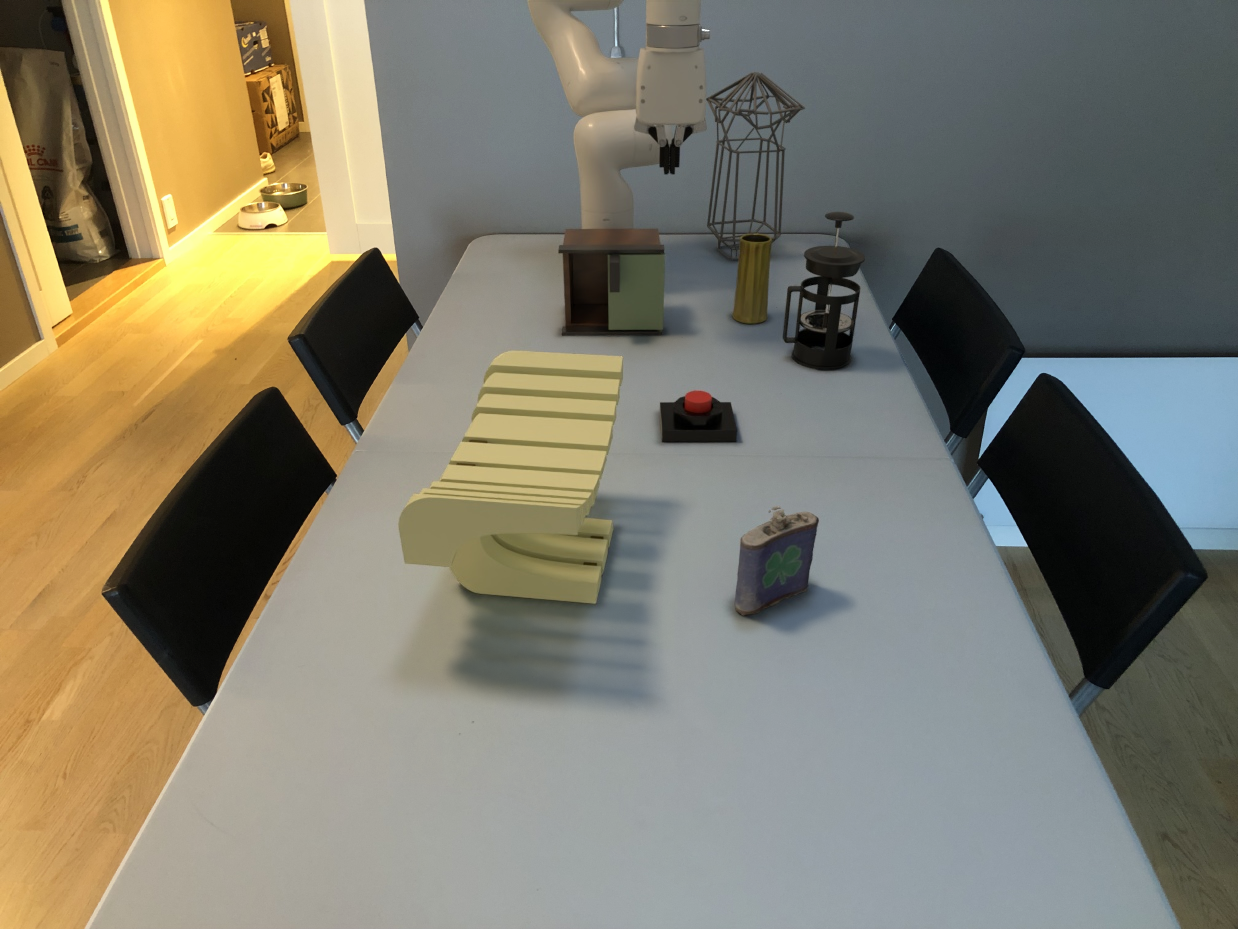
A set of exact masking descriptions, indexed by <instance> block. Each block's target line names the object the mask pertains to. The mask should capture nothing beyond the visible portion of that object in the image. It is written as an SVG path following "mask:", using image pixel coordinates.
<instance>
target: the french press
mask: <svg viewBox="0 0 1238 929" xmlns="http://www.w3.org/2000/svg"><path fill="white" fill-rule="evenodd" d="M824 217H825V218H826V219H827V220H830V221H835V222H834V224H835V225H834V228H835V229H836V231H835V239H834V245H819V246H818V245H817V246H813V247H809V248H807V249H806V250H805V251H804V252H803V257H804V259H806V261H805V269H806V271H807V272H809V273H810V274H813V275H815V276H812V277H808V278H805V279H803V280H802V281H801V282H800V285H789V286H788V287H787V290H786V299H785V309H784V319H783V329H782V340H783V342H784V343H785V344H793V349H792V350H791V358H792V360H793V361H794V362H795V363H796V364H798V365H800V366H802V367H805V368H809V369H812V370H817V371H836V370H840V369H844V368H847V367H848V366H849V365H850V364H851V363H852V359H853V357H852V348H853V342H854V336H855V328H856V322H857V316H858V308H859V302H860V296H861V295H860V294H861V289H862V288H861V285H860V284H858V283H857V282H855V281H853V280H852V279H848V278H851V277H854V276H856V275H857V274H858V272H859V270H860V269H861V265H862V264H863V263H864V262H865V260H866V255H865V254H864V253H863V252H861V251H860V250H857V249H855V248H852V247H847V246H841V245H838V241H839V232H840V229H842V226H843V225H842V224H843V222H849V221H852V220H854V219H855V216H854V215H853V214H851V213H849V212H844V211H830V212H827V213H826V214H825V215H824ZM813 286H817V288H816V293H814V292H811V291H809V290H807V289H806V288H808V287H813ZM832 286H838V287H843V288H845V289H846V288H847V289H849V290H851V291H853V292H854V293H852V294H846V295H840V296H839V295H835V296H834V295H833V296H832ZM793 292H794V293H799V295H798V303H797V304H798V306H797V314H796V324H795V332H794V336H788V328H789V322H790V321H789V319H790V312H791V300H792V293H793ZM804 299H805V300H807V301H808V302H812V303H815V304H814V305H815V306H814V310H809V311H806V312H803V300H804ZM848 304H849V305H850V304H853V306H852V313H851V317H850V316H849V315H847V314H845V313H843V312H842V306H845V305H848ZM802 312H803V313H802ZM801 327H802V328H803V329H801ZM848 331H849V334H848V333H847V332H848ZM821 348H823V349H821Z"/></svg>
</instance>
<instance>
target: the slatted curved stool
mask: <svg viewBox="0 0 1238 929" xmlns="http://www.w3.org/2000/svg"><path fill="white" fill-rule="evenodd" d="M623 380H624V356H622V355H607V354H605V355H604V354H587V353H586V354H585V353H569V352H568V353H567V352H553V351H552V352H549V351H531V350H530V351H529V350H508V351H505V352H502V353H500V354H498V355H497V356H495V358H494V359H492V361H491V363H490V365H489V366H488V368H487V369H486V371H485V372H484V376H483V385H482V386H481V388H480V390H479V393H478V394H477V395H478V396H477V404H476V406H475V407H474V409H473V412H472V413H471V423H470V424H469V427H468V428H467V430H466V432H465V434H464V435H463V438H462V439H461V441H460V442H459V444H458V446H457V448H456V450H455V451H454V453H453V455H452V456H451V458H450V460H449V462H448V464H447V465H446V468H445V469H444V471H443V472H442V474H441V476H440V477H439V480H438V481H437V480H432V482H431V483H430V485H429V487H428V488H427V487H425V488H424V487H423V488H422V489H421V490H420V492H419V493H415V492H414V493H413V494H412V495H411V496H410V498H409V500H408V501H407V503H406V504H405V506H404V508H403V509H402V511H401V513H400V515H399V517H398V533H399V539H400V545H401V550H402V556H403V562H404V564H407V565H417V566H418V565H419V566H429V567H430V566H432V567H442V568H449V570H450V572H451V573H452V575H453V576H454V578H455V579H456V581H457V582H459V584H461V586H462V587H464V588H465V589H466V590H468V591H470V592H472V593H475V594H479V595H480V594H481V595H491V596H502V597H504V596H505V597H514V598H527V599H537V600H547V601H548V600H549V601H560V602H569V603H570V602H571V603H572V602H573V603H583V604H593V605H596V604H597V601H598V597H599V592H600V588H601V584H602V575H604V571H605V566H606V563H607V558H608V554H609V549H610V545H611V541H612V536H613V533H614V523H613V520H612V519H601V518H591V517H586V516H589V515H590V511H591V508H592V507H594V506H595V503H596V499H597V496H598V492H599V488H600V485H601V484H600V480H602V477H603V474H604V470H605V467H606V463H607V456H609V453H610V448H611V445H612V441H613V438H614V426H615V423H616V420H617V406H618V405H619V401H620V398H621V395H620V394H621V391H620V390H621V389H620V388H621V386H622V384H623Z"/></svg>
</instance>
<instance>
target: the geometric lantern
mask: <svg viewBox="0 0 1238 929" xmlns="http://www.w3.org/2000/svg"><path fill="white" fill-rule="evenodd" d="M757 86H758V88H759V91H760V93H761V95H757V93H758V92H757V90H758V89H757ZM731 89H732V90H731ZM747 89H748V90H747ZM729 90H731V91H730V92H729V93H728V94H727V95H725V97H718V96H720V95H723V93H726V92H728V91H729ZM740 90H741V91H740ZM746 90H747V91H746ZM767 90H768V91H769V92H768V91H767ZM745 91H746V94H745ZM738 93H739V94H738ZM749 93H750V95H749ZM769 93H771V95H770V94H769ZM737 94H738V95H737ZM743 94H745V95H744V97H743V98H742V96H743ZM736 95H737V97H736V98H734V97H735V96H736ZM748 95H749V98H747V97H748ZM770 98H774V99H775V103H776V106H777V109H778V110H773V111H772V109H771V106H770V104H769V101H768V99H770ZM757 100H761V101H760V102H758V103H757ZM706 102H707V104H708V106H709V108H710V110H711V112H712V114H713V116H714V123H716V139H717V140H716V141H715V143H716V145H715V154H714V161H713V162H714V163H713V171H712V179H711V189H710V196H709V197H710V198H709V204H708V206H709V207H708V214H707V222H706V223H707V224H706V227H707V228H708V229H709V231H710V232H711V233H712V234H713V236H714V237H715V238H716V240H717V248H716V250H717V251H718V252H719V253H721V255H723V256H724V257H726V258H727V259H728V260H729V261H739V257H738V253H739V252H738V251H739V250H740V237H741V236H742V235H743V234H740V235H736V226H737V224H741V223H750V225H749V230H748V233H747V234H750V233H751V232H752V226H753V223H758V224H761V225H759V227H758V228H757V229H756V230H755V232H754V233H759V231H760V230H761V229H762V228H763V226H765V227H767V228H768V229H770V231H772V232H773V237H771V236H770V237H771V239H772V244H773V243H774V242H775V241H776V240H778V239H779V238H780V237H781V235H782V220H783V218H782V216H783V196H784V177H785V176H784V174H785V155H786V154H785V153H786V150H787V148H786V147H785V146H783V141H784V140H783V139H784V131H785V124H788V123H791V121H792V119H793V118H794V117H795V116H796V115H797V114H798V113H799V112H800V111H803V110H805V109H806V107H805V106H803V104H802V103H800V102H799V101H798V100H796V99H795V98H794V97H793V96H791V95H790V94H789V93H787V92H786V91H785V90H784V89H783V88H782V87H780V86H779V85H778V84H776V83H775V82H774V81H773V80H771V79H770V78H769V77H768V76H766V75H765V74H764V73H763V72H758V71H751V72H750V73H748V74H746V75H745V76H743V77H741V78H739V79H738V80H735V81H734V82H732V83H731V84H729V85H727V86H725V87H724V88H722V89H720V90H718V91H717V92H715V93H713V94H711V95H710V96H707V97H706ZM747 102H748V103H749V104H748V108H742V106H743V105H744V103H747ZM728 103H731V105H730V107H728V106H727V105H728ZM739 103H740V105H739ZM752 103H753V109H751V108H752ZM763 104H765V106H766V109H767V111H764V110H758V109H759V108H760V107H761V106H762V105H763ZM714 105H715V106H714ZM738 105H739V107H738ZM781 105H783V106H782V107H781ZM733 108H734V110H733ZM782 108H783V109H782ZM721 112H725V114H724V115H723V117H722V118H721ZM730 113H731V114H732V116H731V119H730V121H729V123H728V125H727V128H726V127H725V125H724V122H725V121H726V119H727V118H728V116H729V114H730ZM777 114H778V115H779V117H780V118H778V119H776V120H775V121H773V115H777ZM752 115H754V116H755V118H754V119H755V123H754V121H753V119H752V117H751V116H752ZM758 115H764V116H769V124H765V125H759V124H758V122H759V121H758V120H759V119H758ZM736 116H737V117H742V118H743V119H744V120H745V121H746V122H747V123H748V124H749V125H750V126H752V129H751V130H750V131H749V132H748V133H747V135H746V137H744V138H731V139H730V138H729V136H728V134H729V132H730V129H731V128H732V124H733V122H734V120H735V117H736ZM781 123H782V129H781V137H780V144H779V142H778V139H777V136H776V131H777V130H778V128H779V126H780V125H781ZM719 124H720V126H721V129H722V132H723V137H722V139H719V136H720V135H719ZM774 126H775V127H774ZM764 129H770V131H771V134H770V135H769V137H768V138H765V137H762V135H761V133H760V131H759V130H764ZM754 130H755V132H756V133H757V135H758V137H750V138H749V136H750V135H751V134H752V132H753V131H754ZM772 138H773V140H772ZM740 141H741V143H740V144H739V145H738V146H737V147H736V149H733V148H732V145H731V143H730V142H740ZM745 141H759V148H758V149H759V150H741V151H739V149H740V147H741V146H742V145H743V144H744V143H745ZM764 142H766V143H767V144H766V150H763V144H764ZM725 144H727V146H725ZM771 144H773V145H775V147H776V149H770V146H771ZM720 146H721V149H720ZM719 150H720V156H719ZM725 150H726V151H727V152H729V154H728V161H727V171H726V180H725V188H724V189H725V190H724V199H723V207H722V215H721V221H716V213H717V205H718V198H719V192H720V183H721V177H722V168H723V160H724V153H725ZM763 153H766V157H765V158H766V159H765V178H764V180H765V181H764V196H763V197H764V199H763V216H762V217H763V219H762V220H759V219H757V218H756V219H755V213H756V207H757V206H756V205H757V198H758V196H757V195H758V188H759V179H760V171H761V160H762V154H763ZM770 153H776V157H775V158H776V160H775V186H774V219H773V226H772V225H770V224H769V223H768V222H767V205H768V187H769V168H770V167H769V165H770ZM780 153H781V162H780ZM733 154H736V157H735V159H736V160H735V177H734V194H733V196H734V197H733V214H732V215H733V216H732V220H725V219H726V212H727V211H726V210H727V202H728V193H729V184H730V175H731V167H732V159H733V158H732V157H733ZM740 154H758V158H757V166H756V167H757V168H756V177H755V183H754V184H755V186H754V195H753V201H752V202H753V203H752V212H751V218H750V219H737V206H738V187H739V168H740ZM718 157H719V158H718ZM718 159H719V163H718ZM718 164H719V165H718ZM717 166H718V171H717ZM779 171H780V184H779ZM716 173H717V180H716ZM715 184H716V188H715ZM779 186H780V187H779ZM714 191H715V192H714ZM714 193H715V195H714ZM714 196H715V197H714ZM713 199H714V203H713ZM778 201H779V202H778ZM778 204H779V207H778ZM778 208H779V209H778ZM712 209H713V210H712ZM712 211H713V212H712ZM711 217H712V220H711ZM726 224H727V225H728V224H732V235H731V236H724V228H725V225H726ZM715 225H720V233H719V232H718V230H717V228H716V226H715ZM727 242H728V243H729V242H730V243H733V244H728V243H727ZM722 244H723V245H722ZM737 246H738V248H737ZM723 248H728V249H729V250H730V254H729V255H727V253H725V252H724V251H723V250H721V249H723ZM734 251H735V255H734V256H735V257H734V258H733V252H734Z"/></svg>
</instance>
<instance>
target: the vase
mask: <svg viewBox="0 0 1238 929" xmlns="http://www.w3.org/2000/svg"><path fill="white" fill-rule="evenodd" d="M741 235H742V236H741V237H739V239H740V242H739V244H740V245H739V248H740V250H738V251H739V252H738V258H739V260H737V261H738V262H737V263H738V264H737V274H736V285H735V292H734V293H735V294H734V301H733V311H732V315H731V316H732V318H733V320H734V321H736V322H738V323H742V324H748V325H756V324H761V323H763V322H765V321H767V319H768V306H769V286H770V285H769V284H770V267H771V266H770V265H771V257H772V256H771V255H772V254H771V253H772V244H773V243H772V239H771V236H770V235H767V234H765V233H759V232H757V233H755V232H754V233H753V232H752V233H751V232H750V234H748V233H745V234H741Z"/></svg>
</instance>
